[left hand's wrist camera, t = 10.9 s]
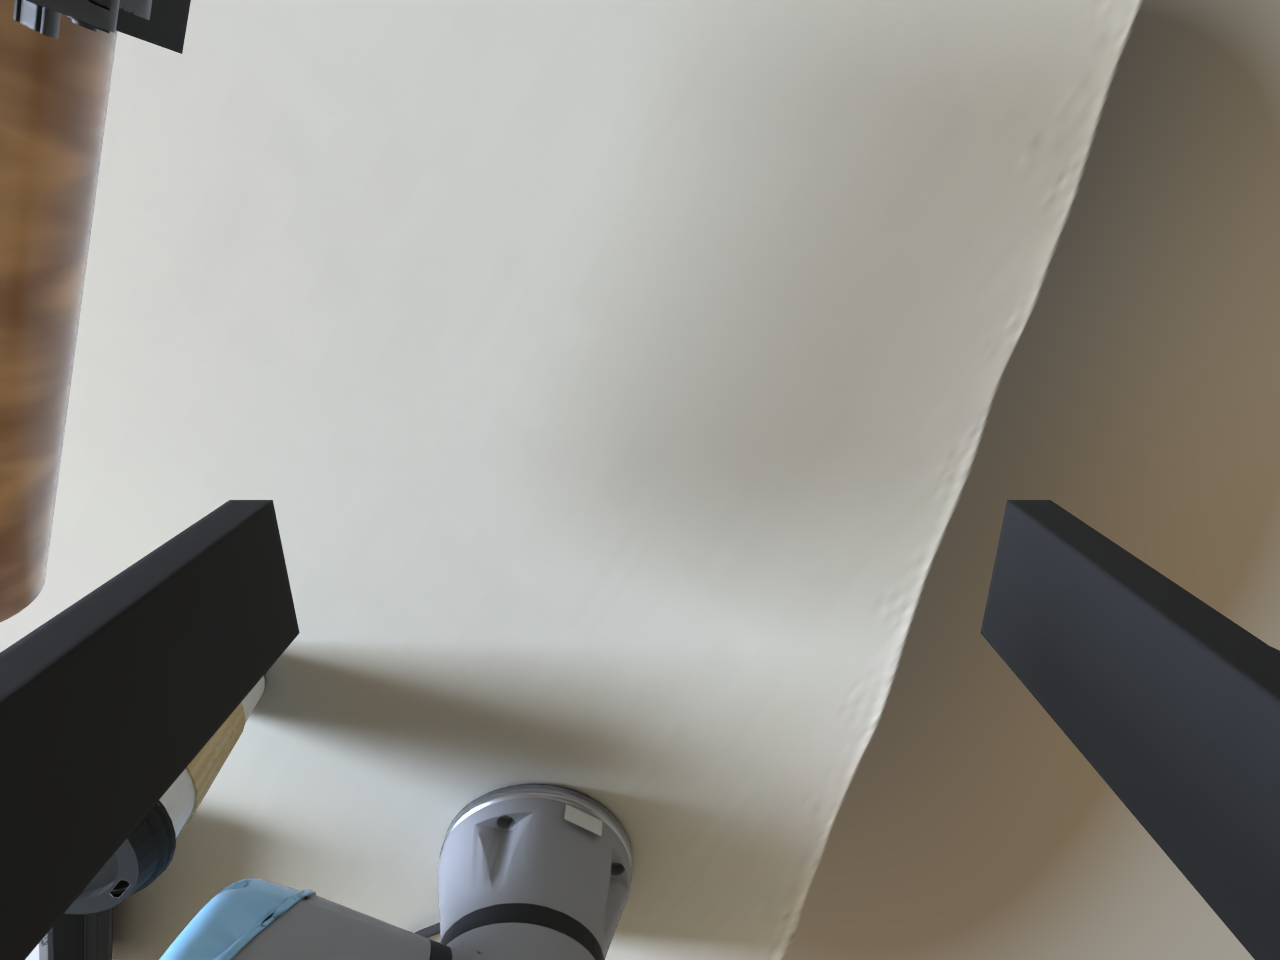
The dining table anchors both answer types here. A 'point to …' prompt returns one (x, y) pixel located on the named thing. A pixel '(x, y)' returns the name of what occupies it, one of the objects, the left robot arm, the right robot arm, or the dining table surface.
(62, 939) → the electronic device
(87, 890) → the coffee cup
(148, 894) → the dining table surface
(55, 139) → the brown cylinder
